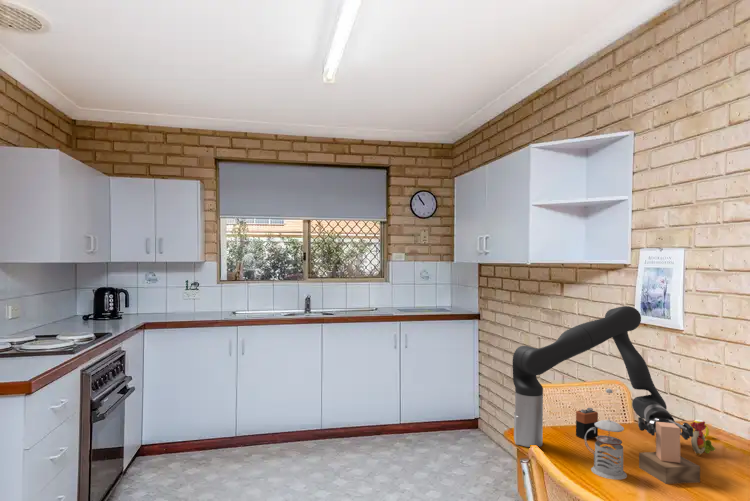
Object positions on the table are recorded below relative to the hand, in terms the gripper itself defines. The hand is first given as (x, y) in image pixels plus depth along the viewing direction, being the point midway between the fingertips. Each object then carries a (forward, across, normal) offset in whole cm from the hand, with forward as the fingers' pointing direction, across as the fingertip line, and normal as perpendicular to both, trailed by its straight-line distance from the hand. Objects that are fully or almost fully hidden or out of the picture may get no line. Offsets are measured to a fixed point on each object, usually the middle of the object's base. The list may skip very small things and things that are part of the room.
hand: (669, 434), depth 141 cm
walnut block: (-2, 0, +13) cm, 13 cm away
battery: (-28, -21, +13) cm, 37 cm away
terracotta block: (-2, 0, +8) cm, 8 cm away
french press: (+3, -18, +13) cm, 22 cm away
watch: (-46, +19, +13) cm, 51 cm away
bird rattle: (-26, +14, +13) cm, 32 cm away
